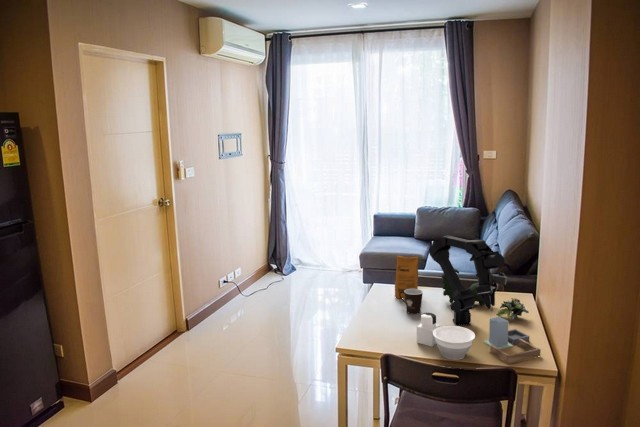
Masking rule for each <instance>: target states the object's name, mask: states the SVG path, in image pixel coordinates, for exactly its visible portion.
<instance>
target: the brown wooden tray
mask: <svg viewBox="0 0 640 427" xmlns="http://www.w3.org/2000/svg"><path fill="white" fill-rule="evenodd" d="M518 347H520V348H521V349H523V350H525V351H522V352H521V351H520V352H516V353H512V354H508V353H507V352H505V351H503V349H501V350H500V349H498V348H497V347H495V346H493V345H490V346H489V353H490V354H491V355H493V356H495V357H496V358H498V359H499V360H501V361H502V362H505V363H506V364H507V365H510V364H514V363H515V364H516V363H519V362H524V361H528V359H529V360H532V358H533V359H536V358H535V357H537V358H539V357H538V356H540V357H541V351H542V350H541V348H539V347H537V346H535V345H533V344H532V343H529V341H527V342H526V341H524V340H522V339H519V343H518Z"/></svg>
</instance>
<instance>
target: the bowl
mask: <svg viewBox="0 0 640 427" xmlns="http://www.w3.org/2000/svg"><path fill="white" fill-rule="evenodd" d="M433 336H434V337H435V340H436V344H435V345H436V346H437V348H438V349H439V351H440V352H441V355H442V356H443V358H446V359H448V360H454V361H455V360H457V361H458V360H461V359H464V358H465V356H466V355H467V354H468V352H469V351H470V350H471V348H472V344H473V341H474V340H475V338H476V334H475V332H474V331H473V330H471V329H469V328H468V327H467V328H466V327H464V326H463V327H462V326H460V325H458V326H457V325H443V326H442V325H441V326H440V327H438V328H436V329H435V330H434V331H433Z"/></svg>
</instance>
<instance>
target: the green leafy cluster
mask: <svg viewBox="0 0 640 427" xmlns="http://www.w3.org/2000/svg"><path fill="white" fill-rule="evenodd" d="M523 312H524V313H525V314H526V313H527V314H529V310H527V309H526V307H525V304H524V303H521V300H520V299H517V298H516V297H515V298H511V300H506V301H505V300H503V301H502V303H501V305H500V307H499V310H498V311H497V313H496V316H497V317H501V316H504V315H506V318H508V320H511V321H510V323H512V321H513V320H514V319H515V317H518V316H519V317H522V313H523ZM510 315H511V319H510Z"/></svg>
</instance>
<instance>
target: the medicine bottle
mask: <svg viewBox="0 0 640 427" xmlns="http://www.w3.org/2000/svg"><path fill="white" fill-rule="evenodd" d="M438 327H441V325H440V324H439V323H437V315H436V314H435V313H432V312H424V313H423V312H422V314H421V315H420V324H419V325H417V326H416V343H418V344H421V345H425V346H428V347H431V348H432V347H434V346H435V345H437V344H436V340H435V337H434V336H433V331H434V330H435V329H436V328H438Z"/></svg>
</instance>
